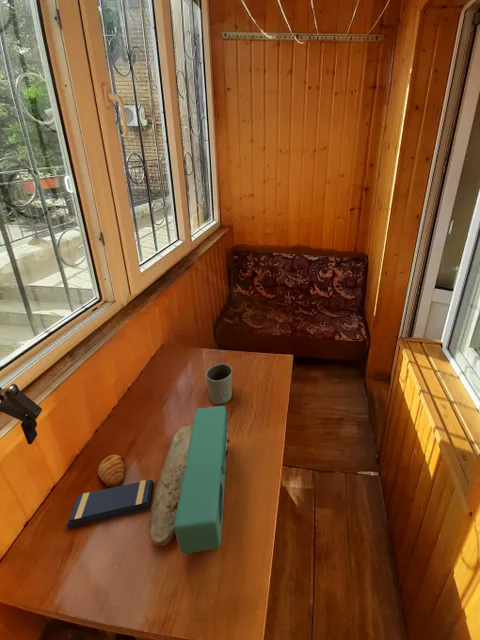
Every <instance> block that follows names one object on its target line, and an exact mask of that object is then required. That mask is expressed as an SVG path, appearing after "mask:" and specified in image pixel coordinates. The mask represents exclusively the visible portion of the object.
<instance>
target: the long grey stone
mask: <svg viewBox="0 0 480 640" xmlns="http://www.w3.org/2000/svg"><path fill="white" fill-rule="evenodd" d="M192 428H193V426H192V425H188V424H184V425H182V426H181V427H179V428H178V429H177V430H176V432H175V433H174V434H173V437H172V439H171V442H170V445H169V448H168V451H167V454H166V455H165V457H164V464H163V466H162V469H161V472H160V475H159V479H158V482H157V485H156V486H155V490H154V492H153V495H154V496H153V498H152V505H151V509H150V511H151V515H150V519H149V535H148V536H149V539H150V541H151V544H153V546H155V547H163V546H166V545H167V544H168V543H170V542H171V541H172V539H173V538H174V536H175V535H176V534H175V531H174V523H175V518H176V512H177V507H178V502H179V497H180V491H181V486H182V481H183V475H184V470H185V465H186V460H187V454H188V449H189V444H190V438H191V433H192Z"/></svg>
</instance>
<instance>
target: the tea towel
mask: <svg viewBox="0 0 480 640" xmlns="http://www.w3.org/2000/svg"><path fill="white" fill-rule="evenodd" d="M153 490H154V480H153V479H142V480H140V481H138V482H132V483H127V484H123V485H117V486H115V487H113V488H111V487H109V488H105V489H101V490H95V491H92V492H91V491H87V492H83V493H82V494H78V495H77V497H76V500H75V502H74V505H73V508H72V511H71V513H70V515H69V518H68V521H67V528H68V529H73V528H77V527H81V526H85V525H90V524H93V523H97V522H101V521H102V522H103V521H105V520H110V519H114V518H118V517H122V516H123V517H124V516H127V515H130V514H136V513H139V512H143V511H147V510H150V507H151V502H152V497H153Z"/></svg>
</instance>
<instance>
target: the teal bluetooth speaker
mask: <svg viewBox="0 0 480 640" xmlns="http://www.w3.org/2000/svg"><path fill="white" fill-rule="evenodd" d="M228 438H229V434H228V411H227V409H226V406H225V405H217V406H209V407H199V408H196V409H195V412H194V417H193V424H192V433H191V438H190V444H189V449H188V454H187V460H186V465H185V470H184V475H183V481H182V486H181V491H180V497H179V502H178V507H177V512H176V518H175V523H174V531H175V534H174V535H175V537H176V541H177V544H178V547H179V551H180V553H181V554H183V555H185V554H192V553H198V552H204V551H212V550H217V549H219V548H220V547H221V545H222V534H223V533H222V531H223V516H224V499H225V485H226V484H225V483H226V474H227V470H226V468H227V456H228V444H229V443H230V439H228Z"/></svg>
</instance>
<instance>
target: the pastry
mask: <svg viewBox="0 0 480 640" xmlns="http://www.w3.org/2000/svg"><path fill="white" fill-rule="evenodd" d="M97 469H98V472H97V474H98V477H99V478H100V481H102V482H103V483H104V484H105V485H106V486H107V487H109V488H114V487H118V486H119V484H121V482H122V481H123V479H124V477H125V476H124V475H125V474H124V473H125V463H124V462H123V458H122V456H121V455H118V454H111V455H109V456H106V457H105V458H104V459H103V460H102V461H101V463H100V464H99V466H98V468H97Z"/></svg>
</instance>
